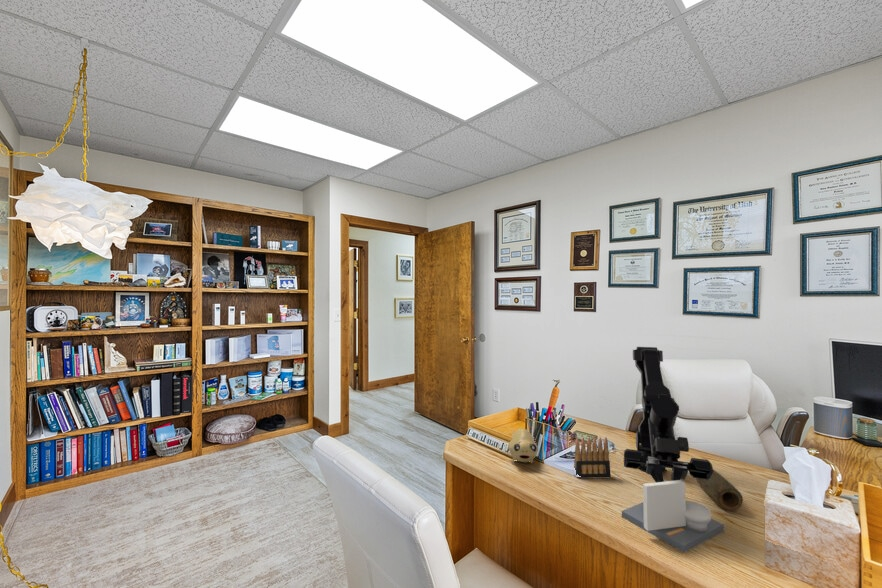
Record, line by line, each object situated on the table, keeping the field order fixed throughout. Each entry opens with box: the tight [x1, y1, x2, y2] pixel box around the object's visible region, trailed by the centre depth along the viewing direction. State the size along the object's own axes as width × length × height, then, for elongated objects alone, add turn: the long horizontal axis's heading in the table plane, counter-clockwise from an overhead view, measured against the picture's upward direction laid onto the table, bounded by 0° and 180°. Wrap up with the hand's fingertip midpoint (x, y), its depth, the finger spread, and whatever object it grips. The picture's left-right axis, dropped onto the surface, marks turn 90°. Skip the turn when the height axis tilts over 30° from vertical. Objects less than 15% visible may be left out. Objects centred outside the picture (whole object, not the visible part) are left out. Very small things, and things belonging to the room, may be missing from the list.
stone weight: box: [695, 469, 743, 512], centre depth 102 cm, size 15×7×7 cm, turn 170°
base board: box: [621, 502, 725, 553], centre depth 91 cm, size 15×16×4 cm
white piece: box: [642, 479, 712, 532], centre depth 87 cm, size 16×6×10 cm, turn 100°
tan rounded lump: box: [507, 428, 539, 463], centre depth 126 cm, size 10×12×11 cm
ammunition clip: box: [573, 436, 612, 478], centre depth 115 cm, size 11×2×12 cm, turn 90°
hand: (670, 500), depth 88 cm, fingers closed
